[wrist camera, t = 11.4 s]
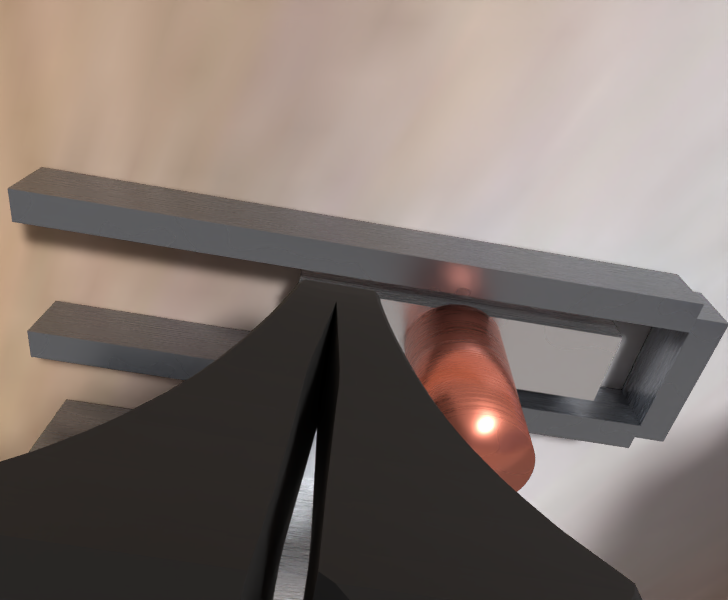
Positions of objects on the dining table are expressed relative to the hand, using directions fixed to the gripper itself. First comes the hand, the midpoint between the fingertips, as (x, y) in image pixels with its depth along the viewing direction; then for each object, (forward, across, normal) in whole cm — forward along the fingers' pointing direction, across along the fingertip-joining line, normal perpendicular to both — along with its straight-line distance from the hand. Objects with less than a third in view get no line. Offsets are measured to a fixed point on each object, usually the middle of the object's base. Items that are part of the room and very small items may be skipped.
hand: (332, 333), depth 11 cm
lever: (+5, -3, +2) cm, 6 cm away
